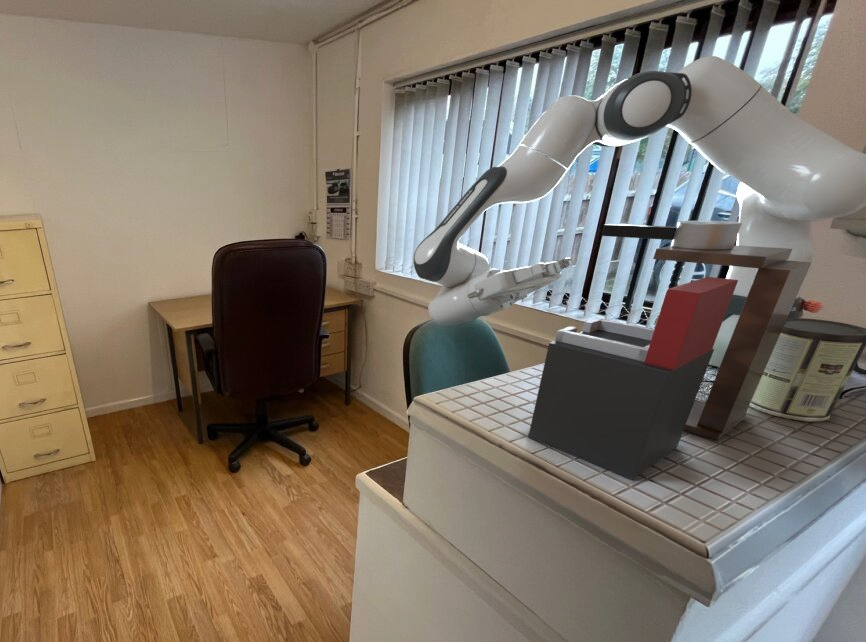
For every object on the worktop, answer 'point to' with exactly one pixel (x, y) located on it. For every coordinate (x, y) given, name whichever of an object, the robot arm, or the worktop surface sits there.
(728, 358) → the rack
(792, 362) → the coffee can
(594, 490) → the worktop surface
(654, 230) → the filter holder
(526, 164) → the robot arm
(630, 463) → the coffee maker
